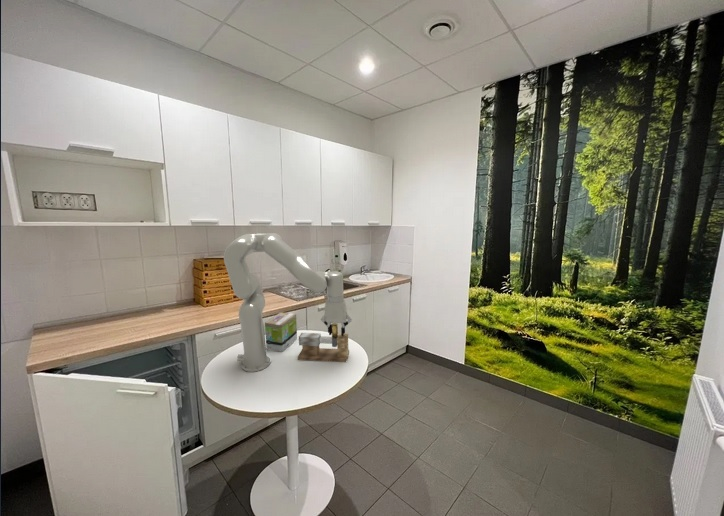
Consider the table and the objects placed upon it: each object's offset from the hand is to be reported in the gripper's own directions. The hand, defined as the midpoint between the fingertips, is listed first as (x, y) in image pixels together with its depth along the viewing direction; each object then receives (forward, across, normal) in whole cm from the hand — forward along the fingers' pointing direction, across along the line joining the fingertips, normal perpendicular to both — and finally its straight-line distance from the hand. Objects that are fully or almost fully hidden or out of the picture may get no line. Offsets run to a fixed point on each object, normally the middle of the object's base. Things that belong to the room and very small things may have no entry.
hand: (336, 333), depth 142 cm
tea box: (+12, -31, +10) cm, 35 cm away
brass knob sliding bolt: (+6, -4, 0) cm, 7 cm away
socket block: (+10, +3, 0) cm, 11 cm away
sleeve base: (+12, -7, 0) cm, 14 cm away
